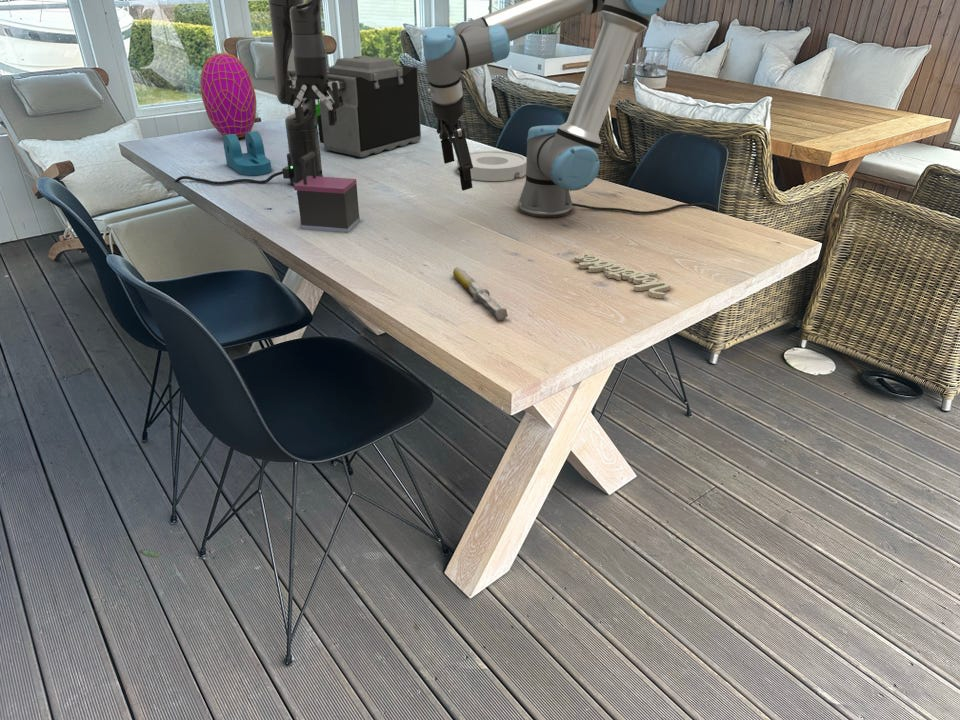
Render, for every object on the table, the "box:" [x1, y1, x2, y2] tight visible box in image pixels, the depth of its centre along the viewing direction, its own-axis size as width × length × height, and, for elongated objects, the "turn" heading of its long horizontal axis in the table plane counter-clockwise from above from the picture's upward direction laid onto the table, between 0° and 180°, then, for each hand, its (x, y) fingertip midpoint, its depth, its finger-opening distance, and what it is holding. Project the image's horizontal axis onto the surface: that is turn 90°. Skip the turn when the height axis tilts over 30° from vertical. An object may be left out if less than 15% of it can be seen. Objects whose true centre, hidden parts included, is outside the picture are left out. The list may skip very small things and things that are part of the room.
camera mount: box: [222, 131, 272, 176], centre depth 226 cm, size 18×10×10 cm, turn 35°
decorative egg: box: [200, 52, 257, 139], centre depth 259 cm, size 19×19×30 cm
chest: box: [296, 183, 361, 233], centre depth 180 cm, size 13×9×10 cm
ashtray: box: [456, 150, 527, 182], centre depth 228 cm, size 23×23×4 cm
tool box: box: [317, 55, 422, 159], centre depth 250 cm, size 37×22×30 cm, turn 144°
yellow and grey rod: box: [452, 266, 509, 321], centre depth 145 cm, size 25×4×3 cm, turn 21°
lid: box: [293, 152, 358, 194], centre depth 176 cm, size 13×9×8 cm
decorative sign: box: [574, 252, 671, 299], centre depth 155 cm, size 26×1×10 cm
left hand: (316, 124), depth 172 cm, fingers open, 8 cm apart
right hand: (458, 174), depth 178 cm, fingers open, 13 cm apart
